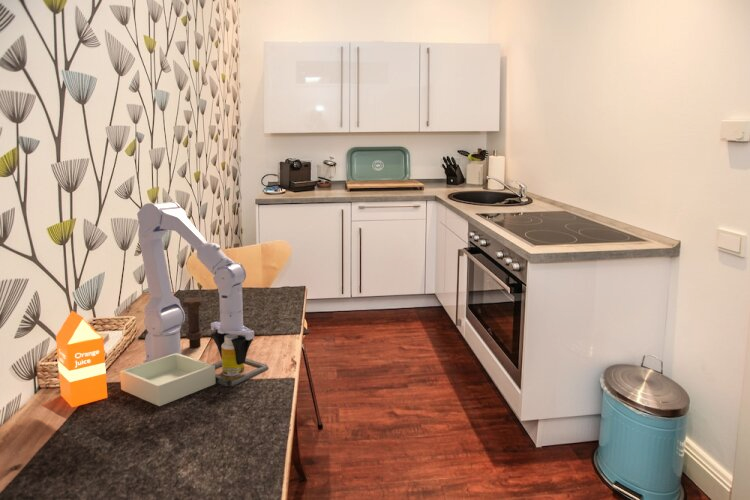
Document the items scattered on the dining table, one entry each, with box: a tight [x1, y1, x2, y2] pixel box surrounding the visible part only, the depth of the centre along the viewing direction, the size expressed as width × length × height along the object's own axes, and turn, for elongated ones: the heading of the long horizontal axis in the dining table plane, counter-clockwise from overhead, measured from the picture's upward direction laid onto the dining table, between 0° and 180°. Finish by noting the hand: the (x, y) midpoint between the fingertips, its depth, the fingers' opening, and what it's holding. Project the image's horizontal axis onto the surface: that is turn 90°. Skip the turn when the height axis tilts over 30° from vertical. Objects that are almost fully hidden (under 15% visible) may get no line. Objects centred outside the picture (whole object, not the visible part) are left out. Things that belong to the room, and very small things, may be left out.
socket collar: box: [211, 358, 270, 387], centre depth 139 cm, size 13×13×2 cm
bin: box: [119, 353, 217, 407], centre depth 130 cm, size 16×16×5 cm
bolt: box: [182, 297, 204, 349], centre depth 157 cm, size 6×5×15 cm
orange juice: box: [55, 310, 108, 408], centre depth 123 cm, size 8×9×20 cm
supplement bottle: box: [221, 334, 245, 377], centre depth 139 cm, size 6×6×10 cm
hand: (233, 360), depth 139 cm, fingers closed on supplement bottle, 6 cm apart
